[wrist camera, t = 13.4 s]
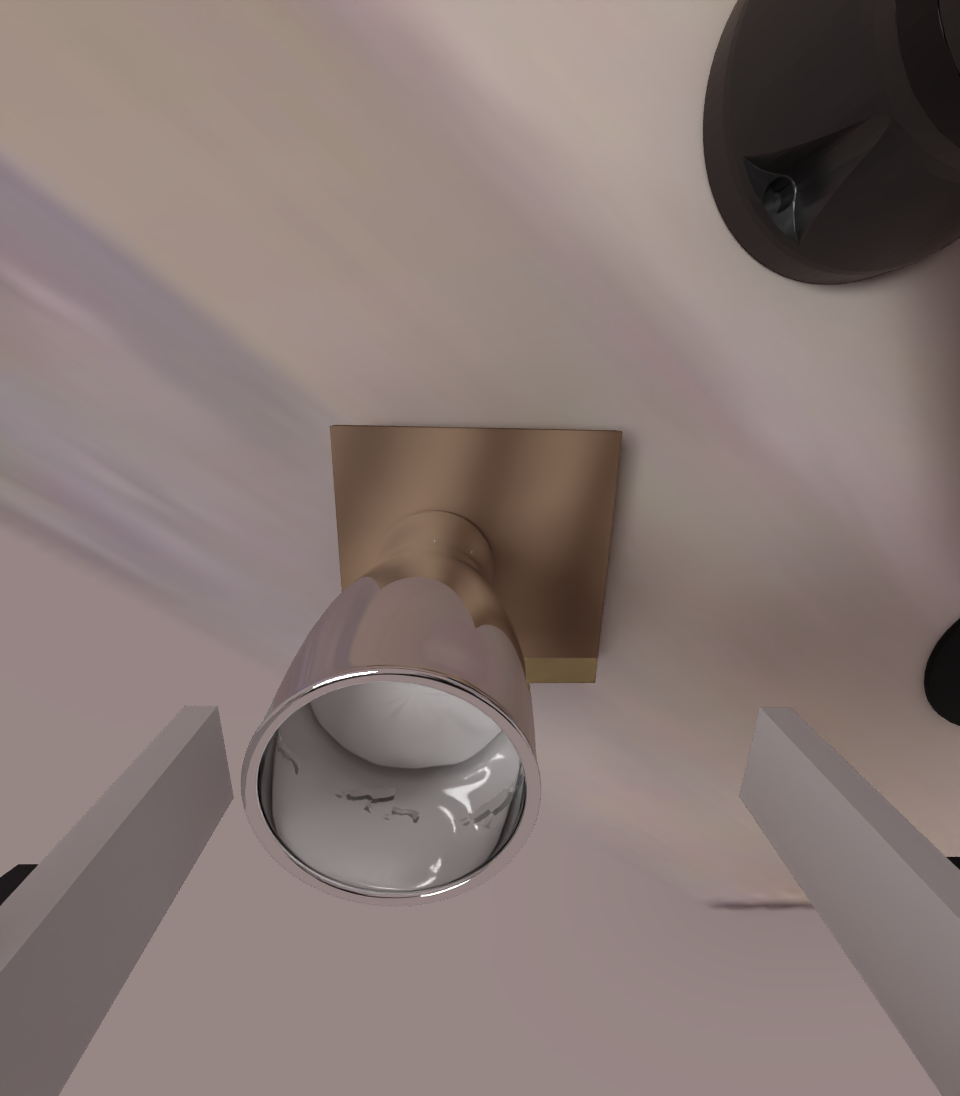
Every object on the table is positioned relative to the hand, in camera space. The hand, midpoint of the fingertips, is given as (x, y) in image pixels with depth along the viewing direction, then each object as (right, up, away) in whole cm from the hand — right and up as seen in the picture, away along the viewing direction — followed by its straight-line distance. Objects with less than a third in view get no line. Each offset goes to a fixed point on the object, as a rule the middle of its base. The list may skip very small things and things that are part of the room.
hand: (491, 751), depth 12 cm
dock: (-1, +5, +17) cm, 18 cm away
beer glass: (-3, +4, +13) cm, 14 cm away
